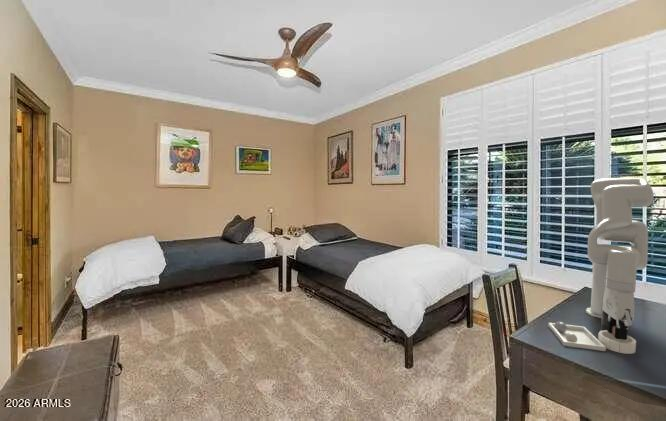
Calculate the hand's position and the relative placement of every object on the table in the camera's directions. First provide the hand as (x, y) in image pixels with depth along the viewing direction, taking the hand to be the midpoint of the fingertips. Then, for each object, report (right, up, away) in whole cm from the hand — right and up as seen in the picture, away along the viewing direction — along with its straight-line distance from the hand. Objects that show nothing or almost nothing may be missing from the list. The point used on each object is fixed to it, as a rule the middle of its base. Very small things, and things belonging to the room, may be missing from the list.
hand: (617, 335), depth 107 cm
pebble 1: (-11, -3, +12) cm, 16 cm away
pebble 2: (-14, -4, +3) cm, 15 cm away
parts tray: (-10, -4, +7) cm, 12 cm away
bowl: (0, -5, 0) cm, 5 cm away
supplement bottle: (+7, -4, +10) cm, 13 cm away
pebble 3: (0, 0, 0) cm, 0 cm away
